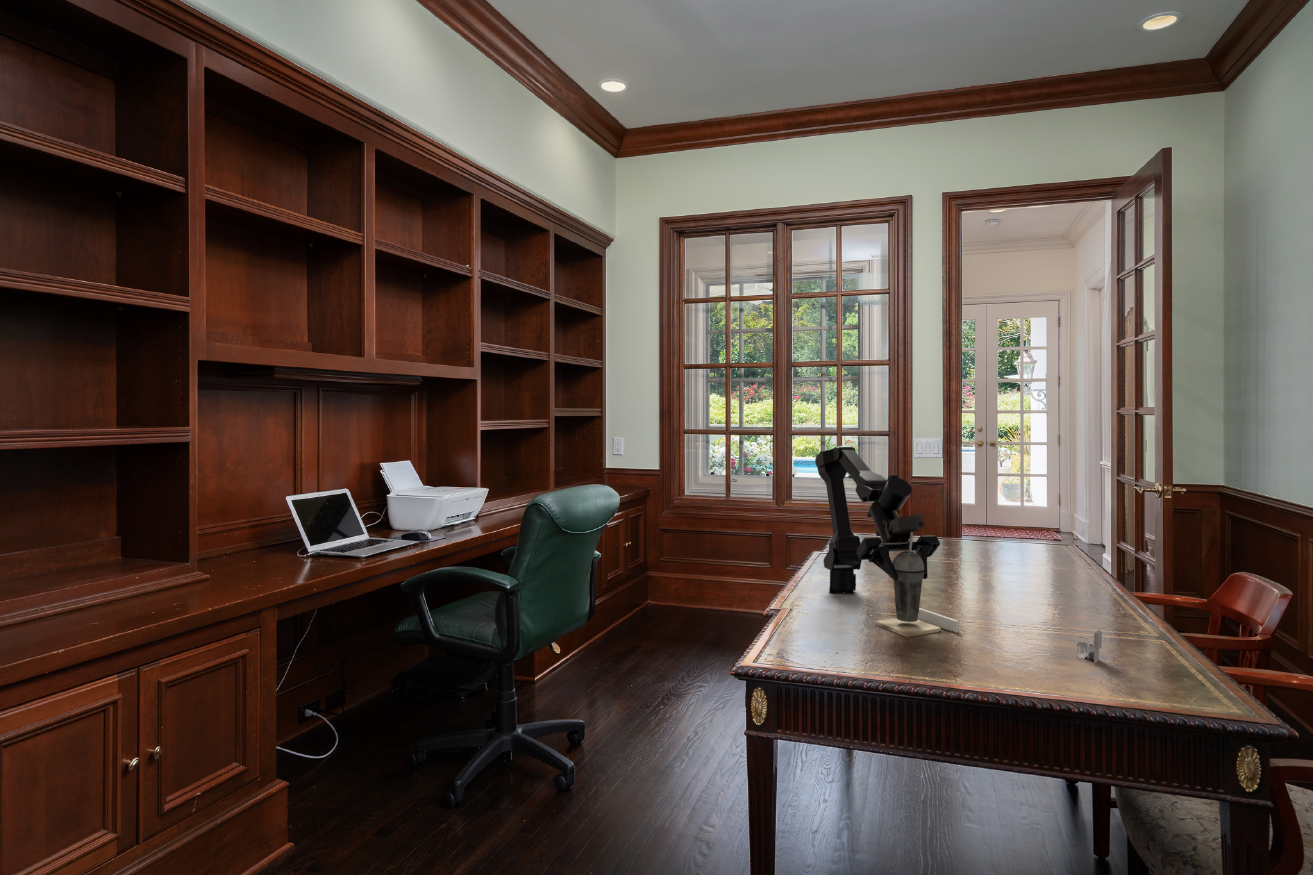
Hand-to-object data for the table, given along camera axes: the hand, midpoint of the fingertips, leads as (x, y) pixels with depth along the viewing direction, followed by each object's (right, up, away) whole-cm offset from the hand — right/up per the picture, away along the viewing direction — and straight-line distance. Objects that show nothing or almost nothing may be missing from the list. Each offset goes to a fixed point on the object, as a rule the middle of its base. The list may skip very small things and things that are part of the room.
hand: (911, 578), depth 162 cm
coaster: (0, -12, +2) cm, 12 cm away
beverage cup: (0, -10, +2) cm, 10 cm away
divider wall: (+7, -11, +5) cm, 14 cm away
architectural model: (+24, -13, -20) cm, 34 cm away
